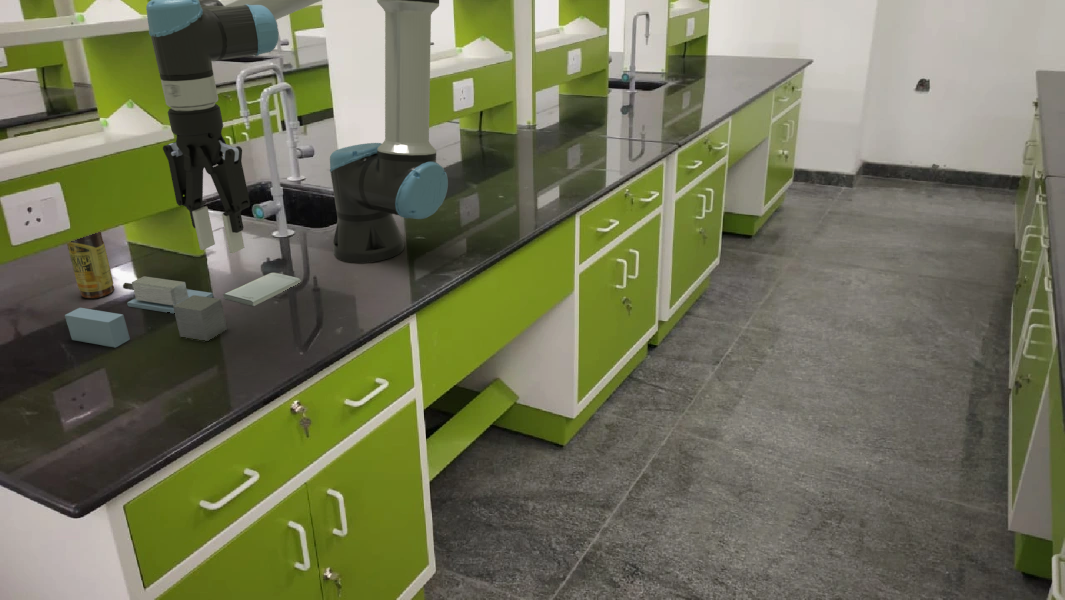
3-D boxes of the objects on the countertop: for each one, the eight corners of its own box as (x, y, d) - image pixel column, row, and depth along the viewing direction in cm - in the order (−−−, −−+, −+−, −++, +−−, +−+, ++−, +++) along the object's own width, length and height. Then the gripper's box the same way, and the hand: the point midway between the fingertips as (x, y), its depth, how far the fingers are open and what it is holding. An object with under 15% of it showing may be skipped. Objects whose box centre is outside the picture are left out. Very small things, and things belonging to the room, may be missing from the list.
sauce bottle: (73, 297, 159) (45, 200, 151) (100, 285, 164) (74, 191, 156) (97, 302, 157) (69, 203, 148) (123, 290, 162) (98, 194, 153)
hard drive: (252, 301, 152) (300, 277, 162) (222, 293, 156) (271, 271, 166) (254, 309, 153) (301, 285, 162) (224, 301, 157) (272, 278, 166)
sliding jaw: (189, 299, 153) (185, 282, 152) (176, 306, 150) (171, 289, 149) (133, 291, 158) (129, 274, 156) (120, 298, 155) (115, 280, 153)
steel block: (227, 329, 144) (220, 299, 141) (207, 342, 139) (200, 310, 137) (200, 325, 146) (193, 295, 143) (180, 337, 141) (172, 306, 139)
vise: (213, 296, 157) (208, 273, 155) (122, 348, 138) (115, 323, 136) (161, 289, 161) (155, 266, 160) (65, 338, 142) (58, 314, 140)
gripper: (127, 108, 123) (161, 251, 133) (225, 113, 117) (253, 262, 127) (164, 99, 130) (194, 235, 139) (258, 103, 123) (282, 246, 133)
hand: (222, 248), depth 133 cm, fingers open, 5 cm apart
